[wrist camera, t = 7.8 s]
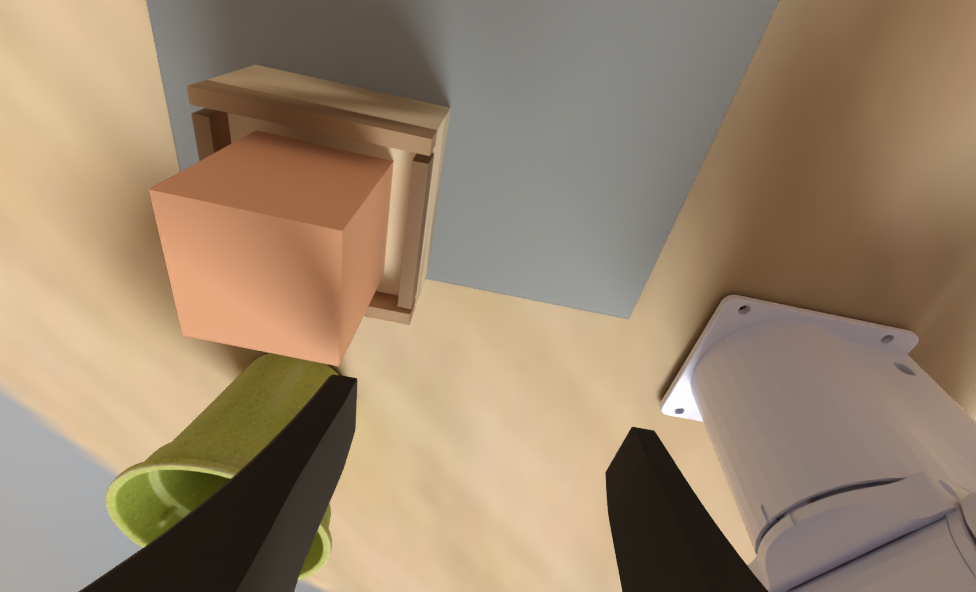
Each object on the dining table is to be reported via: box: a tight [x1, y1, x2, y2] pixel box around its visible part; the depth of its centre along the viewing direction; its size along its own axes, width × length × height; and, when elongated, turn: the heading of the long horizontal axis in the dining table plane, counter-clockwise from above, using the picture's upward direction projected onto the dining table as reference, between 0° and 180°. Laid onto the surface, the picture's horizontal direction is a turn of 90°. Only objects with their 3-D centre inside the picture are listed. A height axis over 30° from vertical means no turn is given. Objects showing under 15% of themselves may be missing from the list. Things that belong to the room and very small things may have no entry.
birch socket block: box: [187, 65, 451, 325], centre depth 17 cm, size 7×7×4 cm
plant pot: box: [106, 353, 339, 580], centre depth 23 cm, size 9×9×9 cm
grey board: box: [146, 0, 779, 319], centre depth 16 cm, size 20×18×1 cm
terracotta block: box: [149, 130, 394, 366], centre depth 14 cm, size 4×4×5 cm
